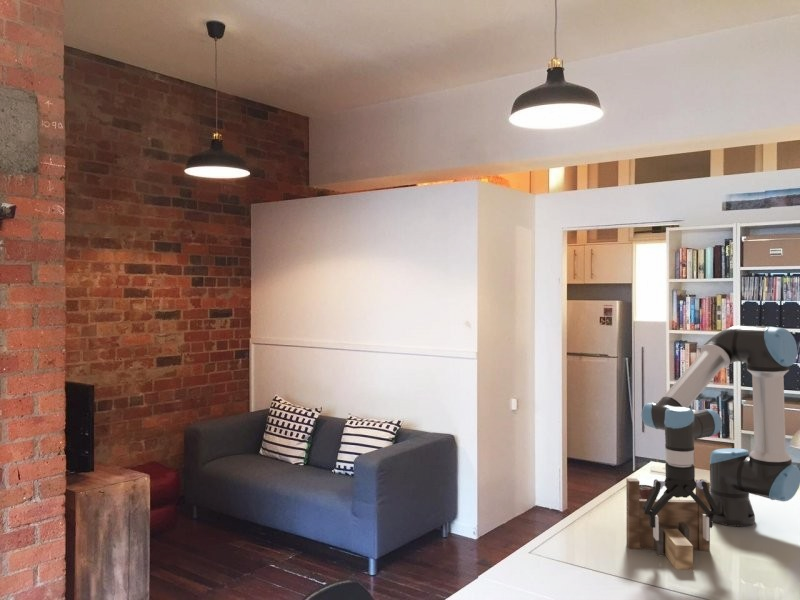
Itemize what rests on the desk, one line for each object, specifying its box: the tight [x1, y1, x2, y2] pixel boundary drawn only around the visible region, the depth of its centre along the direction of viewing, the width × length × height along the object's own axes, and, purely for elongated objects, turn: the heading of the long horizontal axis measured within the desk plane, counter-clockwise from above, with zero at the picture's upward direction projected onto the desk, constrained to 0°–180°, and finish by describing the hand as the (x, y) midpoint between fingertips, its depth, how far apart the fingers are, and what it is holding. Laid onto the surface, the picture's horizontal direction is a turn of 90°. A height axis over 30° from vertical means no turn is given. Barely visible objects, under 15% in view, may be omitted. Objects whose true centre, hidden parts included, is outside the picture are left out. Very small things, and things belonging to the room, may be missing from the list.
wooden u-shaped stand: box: [625, 477, 711, 556], centre depth 195 cm, size 23×8×20 cm, turn 85°
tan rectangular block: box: [663, 527, 694, 570], centre depth 189 cm, size 5×13×7 cm, turn 175°
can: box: [639, 484, 653, 499], centre depth 211 cm, size 6×6×14 cm
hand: (681, 538), depth 186 cm, fingers open, 13 cm apart
